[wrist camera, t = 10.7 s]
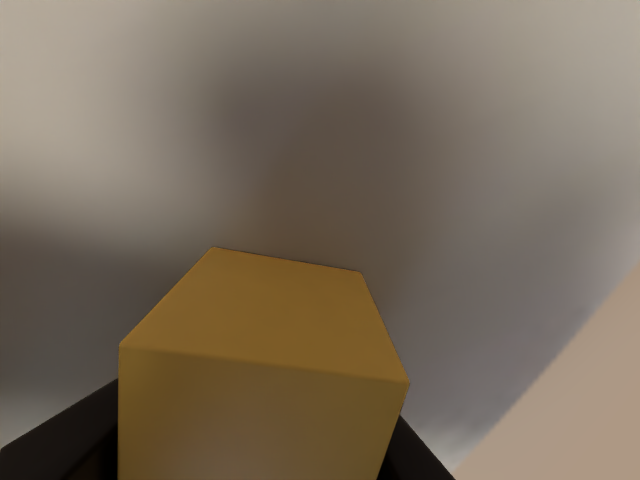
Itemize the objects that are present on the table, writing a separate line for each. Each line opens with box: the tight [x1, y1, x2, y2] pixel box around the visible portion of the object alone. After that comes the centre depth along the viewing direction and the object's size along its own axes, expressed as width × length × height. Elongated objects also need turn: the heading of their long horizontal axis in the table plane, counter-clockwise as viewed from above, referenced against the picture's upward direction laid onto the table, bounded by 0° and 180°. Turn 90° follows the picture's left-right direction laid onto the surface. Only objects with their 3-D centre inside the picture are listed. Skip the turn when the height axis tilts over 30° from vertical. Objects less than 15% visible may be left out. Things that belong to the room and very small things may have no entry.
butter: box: [117, 247, 410, 480], centre depth 7 cm, size 4×6×4 cm
